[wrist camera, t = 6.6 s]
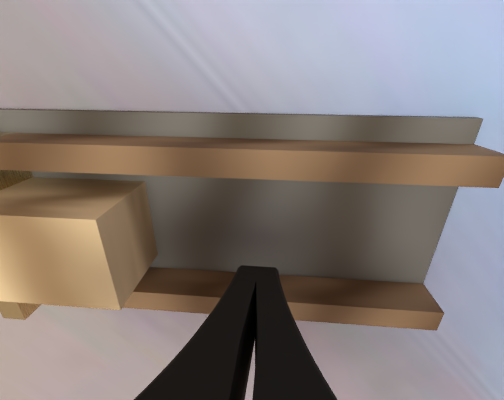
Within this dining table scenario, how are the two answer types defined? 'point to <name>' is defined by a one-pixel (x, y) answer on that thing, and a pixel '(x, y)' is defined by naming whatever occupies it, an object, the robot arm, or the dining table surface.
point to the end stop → (15, 309)
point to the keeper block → (74, 241)
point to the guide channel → (274, 200)
